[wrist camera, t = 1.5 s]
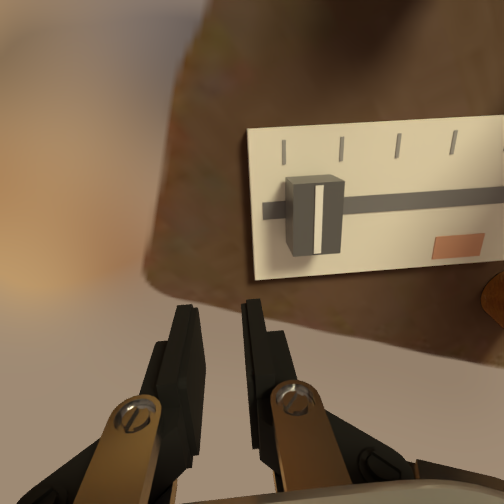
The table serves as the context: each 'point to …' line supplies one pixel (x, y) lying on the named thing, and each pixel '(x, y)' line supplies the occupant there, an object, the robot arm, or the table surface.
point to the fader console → (384, 193)
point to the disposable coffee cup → (494, 299)
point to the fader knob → (314, 214)
